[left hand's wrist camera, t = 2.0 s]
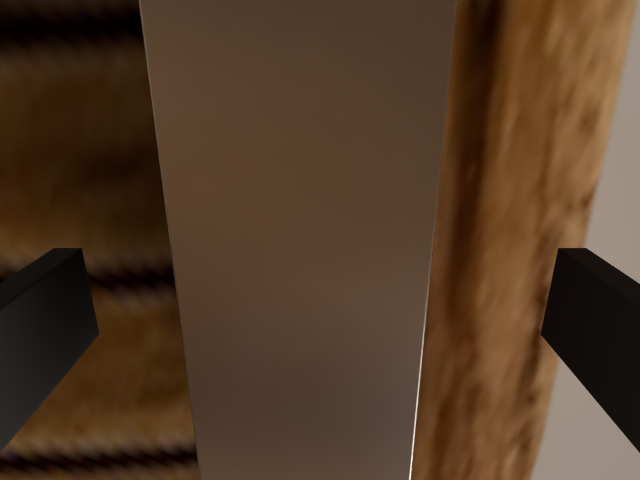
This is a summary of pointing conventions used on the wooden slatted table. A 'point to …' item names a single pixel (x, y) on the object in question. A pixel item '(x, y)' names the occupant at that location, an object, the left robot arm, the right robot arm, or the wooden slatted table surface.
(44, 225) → the wooden slatted table surface
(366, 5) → the bar
